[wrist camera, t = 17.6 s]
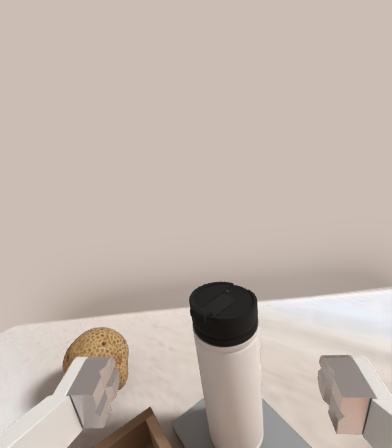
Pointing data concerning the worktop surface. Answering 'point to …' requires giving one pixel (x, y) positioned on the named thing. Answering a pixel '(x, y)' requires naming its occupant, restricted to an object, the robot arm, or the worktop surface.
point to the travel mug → (229, 363)
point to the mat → (200, 435)
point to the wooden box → (138, 434)
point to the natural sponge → (100, 350)
